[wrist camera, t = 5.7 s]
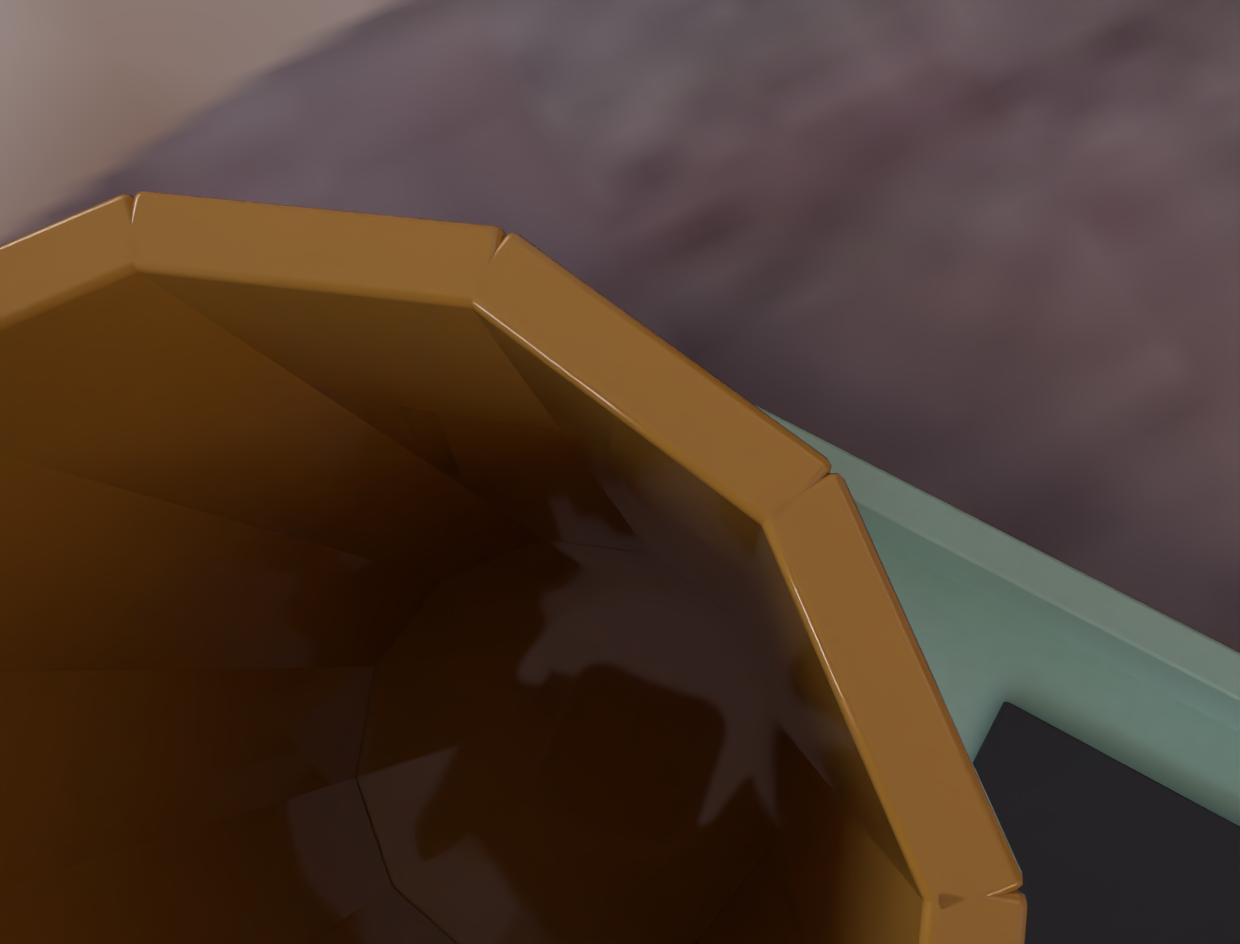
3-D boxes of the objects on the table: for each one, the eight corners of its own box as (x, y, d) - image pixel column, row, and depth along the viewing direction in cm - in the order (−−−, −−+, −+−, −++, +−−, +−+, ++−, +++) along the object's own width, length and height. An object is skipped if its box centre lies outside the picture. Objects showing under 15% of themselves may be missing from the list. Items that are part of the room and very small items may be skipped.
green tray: (1555, 860, 19) (1734, 904, 16) (1255, 1533, 18) (1378, 1739, 15) (522, 324, 23) (485, 266, 19) (215, 859, 22) (118, 898, 18)
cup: (773, 1033, 15) (925, 2271, 4) (312, 948, 16) (-812, 1725, 4) (827, 553, 16) (1082, 279, 5) (392, 496, 17) (-336, 139, 5)
